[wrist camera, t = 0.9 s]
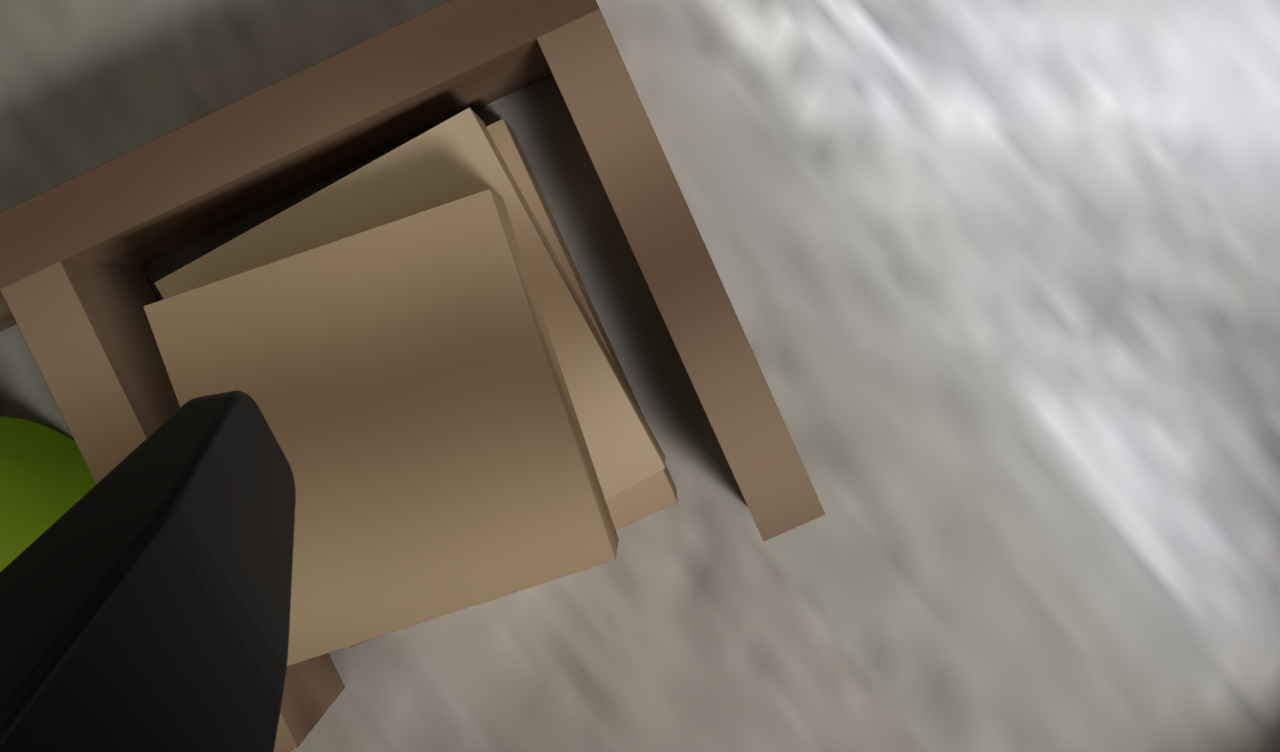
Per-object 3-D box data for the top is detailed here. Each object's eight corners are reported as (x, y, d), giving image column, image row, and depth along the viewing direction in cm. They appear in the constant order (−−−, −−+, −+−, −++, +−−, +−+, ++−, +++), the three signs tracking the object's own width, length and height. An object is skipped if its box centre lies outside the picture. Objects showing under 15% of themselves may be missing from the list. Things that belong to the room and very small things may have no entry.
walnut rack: (802, 484, 22) (824, 514, 19) (-34, 854, 23) (-136, 938, 20) (582, -8, 22) (570, -57, 19) (-271, 393, 22) (-414, 408, 19)
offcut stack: (682, 485, 22) (689, 533, 18) (366, 626, 23) (295, 708, 18) (517, 122, 22) (482, 78, 17) (195, 271, 22) (79, 266, 18)
